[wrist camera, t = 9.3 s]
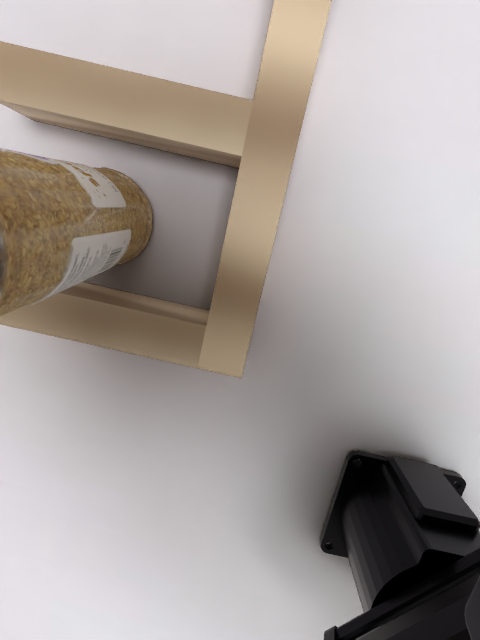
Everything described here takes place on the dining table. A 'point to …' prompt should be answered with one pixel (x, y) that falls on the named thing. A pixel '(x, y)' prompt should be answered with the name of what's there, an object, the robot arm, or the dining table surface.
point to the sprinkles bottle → (63, 225)
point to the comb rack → (191, 140)
